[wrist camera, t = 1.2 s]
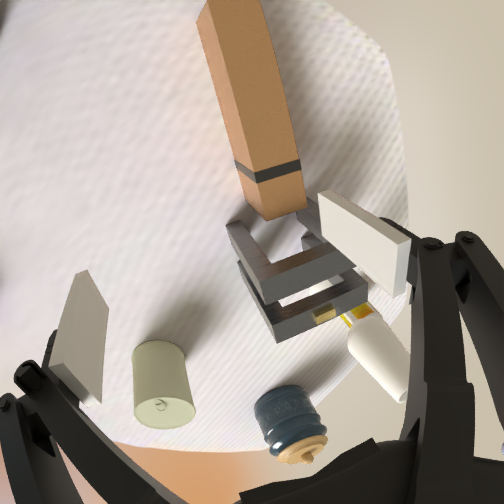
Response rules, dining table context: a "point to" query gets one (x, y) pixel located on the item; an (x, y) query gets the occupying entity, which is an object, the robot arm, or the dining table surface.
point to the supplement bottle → (362, 313)
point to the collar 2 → (310, 301)
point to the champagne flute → (377, 350)
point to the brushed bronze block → (253, 105)
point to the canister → (290, 425)
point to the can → (161, 386)
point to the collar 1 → (289, 260)
